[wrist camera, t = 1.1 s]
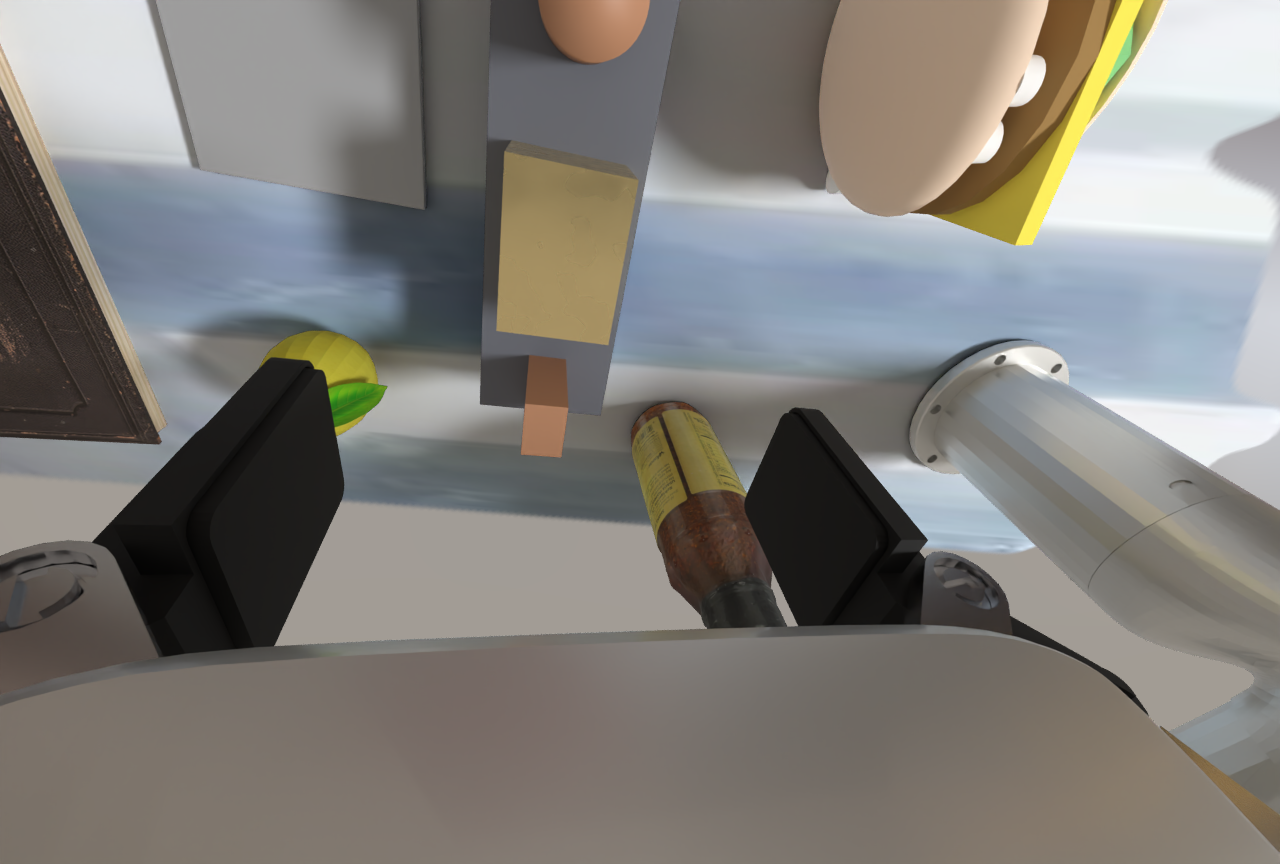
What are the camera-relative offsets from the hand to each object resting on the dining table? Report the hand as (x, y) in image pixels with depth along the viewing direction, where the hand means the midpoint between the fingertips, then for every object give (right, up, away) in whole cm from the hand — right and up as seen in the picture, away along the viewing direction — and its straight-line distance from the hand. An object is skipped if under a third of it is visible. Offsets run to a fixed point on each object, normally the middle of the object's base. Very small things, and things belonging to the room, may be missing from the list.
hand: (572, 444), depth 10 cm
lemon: (-17, +5, +20) cm, 27 cm away
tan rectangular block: (-2, +10, +13) cm, 16 cm away
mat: (-14, +17, +12) cm, 25 cm away
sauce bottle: (+4, +1, +27) cm, 27 cm away
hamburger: (+13, +20, +15) cm, 28 cm away
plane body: (-3, +13, +17) cm, 21 cm away
